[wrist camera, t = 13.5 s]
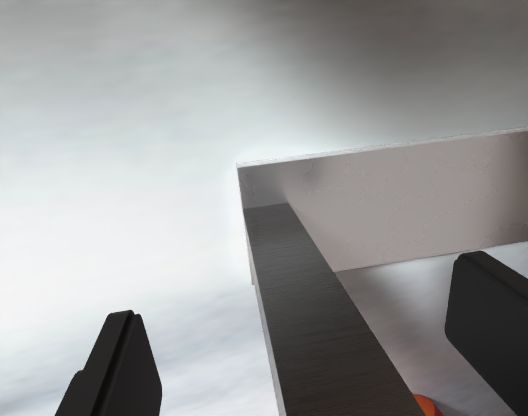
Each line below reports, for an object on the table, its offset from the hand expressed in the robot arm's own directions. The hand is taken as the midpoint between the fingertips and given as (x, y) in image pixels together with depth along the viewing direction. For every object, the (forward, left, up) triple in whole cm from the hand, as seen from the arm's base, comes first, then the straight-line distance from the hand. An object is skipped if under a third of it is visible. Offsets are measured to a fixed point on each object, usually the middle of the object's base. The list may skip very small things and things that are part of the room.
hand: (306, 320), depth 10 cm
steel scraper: (+1, +8, -10) cm, 13 cm away
